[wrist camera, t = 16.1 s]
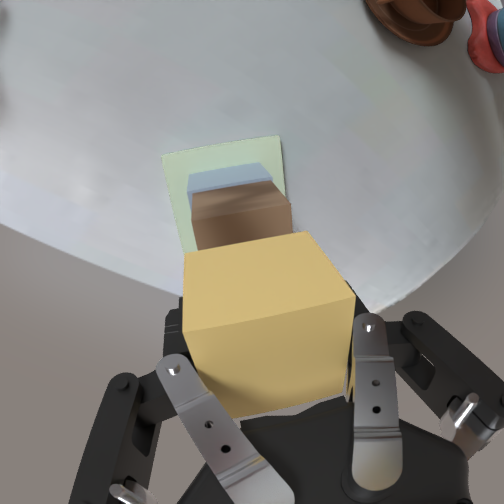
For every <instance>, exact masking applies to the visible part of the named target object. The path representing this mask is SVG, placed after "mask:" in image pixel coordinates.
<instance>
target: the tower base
mask: <svg viewBox="0 0 504 504" xmlns="http://www.w3.org/2000/svg"><path fill="white" fill-rule="evenodd" d="M161 159H162V164H163V169H164V173H165V178H166V182H167V187H168V191H169V196H170V200H171V204H172V209H173V213H174V217H175V221H176V225H177V229H178V233H179V237H180V241H181V245H182V249H183V253H184V257H185V253H189V252H194V251H198V250H197V245H196V241H195V236H194V232H193V227H192V223H191V214H192V193H197V192H203V191H208V190H214V189H219V188H225V187H231V186H237V185H243V184H249V183H255V182H261V181H268V180H271V181H272V182H273V183H274V184H275V186H276V187H277V188H278V189H279V190H280V191H281V193H282V194H283V195H284V196H285V186H284V175H283V164H282V154H281V144H280V136H278V135H275V136H267V137H259V138H252V139H245V140H239V141H232V142H226V143H220V144H214V145H209V146H203V147H198V148H193V149H188V150H183V151H178V152H173V153H169V154H164V155H162V156H161Z"/></svg>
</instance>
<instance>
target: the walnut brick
mask: <svg viewBox="0 0 504 504" xmlns="http://www.w3.org/2000/svg"><path fill="white" fill-rule="evenodd" d="M191 223H192V227H193V232H194V236H195V241H196V245H197V250H198V251H200V250H205V249H210V248H216V247H221V246H226V245H232V244H237V243H242V242H248V241H253V240H259V239H264V238H270V237H275V236H281V235H286V234H292V233H293V229H292V214H291V204H290V202H289V201H288V200H287V199H286V197H285V196H284V195H283V194H282V193H281V191H280V190H279V189H278V188H277V187H276V186H275V184H274V183H273V182H272V181H271V180H268V181H261V182H255V183H249V184H243V185H237V186H231V187H225V188H219V189H214V190H208V191H203V192H197V193H192V214H191Z"/></svg>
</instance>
